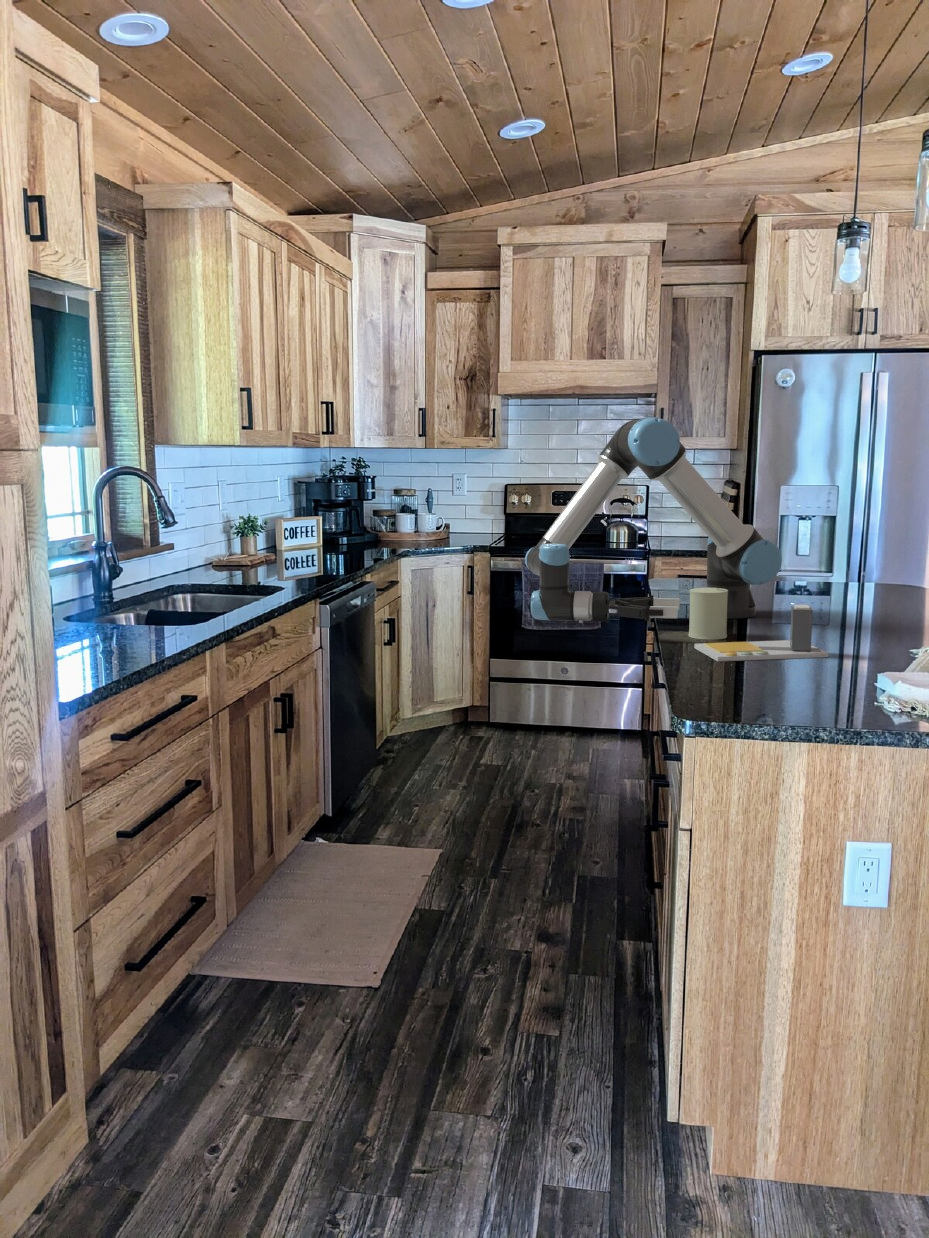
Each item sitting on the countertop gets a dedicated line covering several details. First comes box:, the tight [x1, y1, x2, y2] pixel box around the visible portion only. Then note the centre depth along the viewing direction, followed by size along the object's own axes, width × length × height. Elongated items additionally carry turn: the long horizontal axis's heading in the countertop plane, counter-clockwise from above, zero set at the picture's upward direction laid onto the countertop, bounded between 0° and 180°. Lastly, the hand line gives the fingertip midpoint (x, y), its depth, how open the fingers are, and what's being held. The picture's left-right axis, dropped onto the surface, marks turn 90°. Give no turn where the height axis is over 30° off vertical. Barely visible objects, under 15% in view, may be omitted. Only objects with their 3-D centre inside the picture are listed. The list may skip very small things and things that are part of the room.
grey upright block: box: [789, 604, 814, 651], centre depth 209 cm, size 4×5×9 cm
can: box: [688, 587, 728, 641], centre depth 232 cm, size 9×9×12 cm
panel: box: [694, 639, 830, 662], centre depth 213 cm, size 25×15×1 cm, turn 96°
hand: (678, 608), depth 233 cm, fingers open, 13 cm apart
